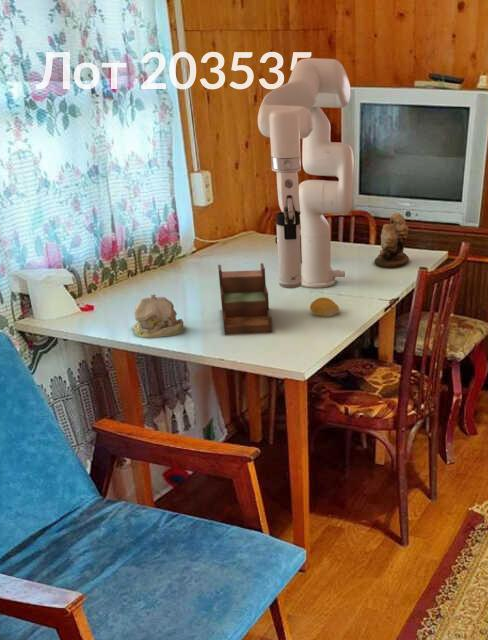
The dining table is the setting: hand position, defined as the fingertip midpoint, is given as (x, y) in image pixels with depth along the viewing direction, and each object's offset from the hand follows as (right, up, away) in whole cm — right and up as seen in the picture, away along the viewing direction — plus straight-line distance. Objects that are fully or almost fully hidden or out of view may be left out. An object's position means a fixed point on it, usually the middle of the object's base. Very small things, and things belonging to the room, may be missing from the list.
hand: (289, 235), depth 201 cm
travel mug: (0, -11, +8) cm, 14 cm away
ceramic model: (-37, -25, +5) cm, 45 cm away
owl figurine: (+30, +16, +70) cm, 78 cm away
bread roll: (+8, -16, +20) cm, 27 cm away
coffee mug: (-5, +17, +69) cm, 71 cm away
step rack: (-14, -20, +13) cm, 27 cm away
